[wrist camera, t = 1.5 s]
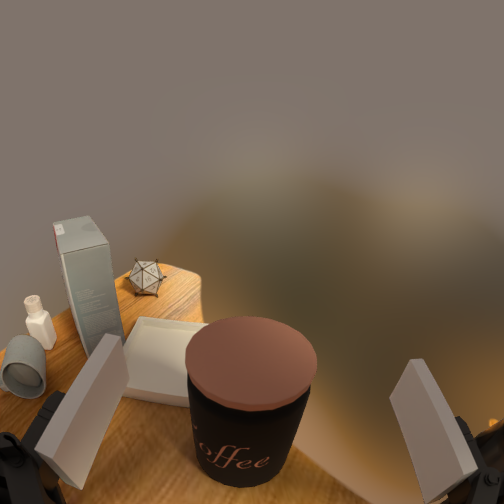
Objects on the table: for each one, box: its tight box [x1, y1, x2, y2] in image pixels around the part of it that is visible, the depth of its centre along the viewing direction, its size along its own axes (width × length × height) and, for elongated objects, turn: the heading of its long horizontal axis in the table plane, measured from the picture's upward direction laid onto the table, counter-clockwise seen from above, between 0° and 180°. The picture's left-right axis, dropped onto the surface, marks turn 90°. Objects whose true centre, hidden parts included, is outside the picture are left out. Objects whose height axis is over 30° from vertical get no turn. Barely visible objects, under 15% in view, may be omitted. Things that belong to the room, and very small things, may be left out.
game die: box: [125, 258, 167, 297], centre depth 61 cm, size 9×8×10 cm
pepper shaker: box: [24, 295, 57, 350], centre depth 40 cm, size 4×4×10 cm
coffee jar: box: [185, 316, 317, 488], centre depth 26 cm, size 11×11×18 cm
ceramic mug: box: [0, 334, 46, 399], centre depth 31 cm, size 11×8×8 cm
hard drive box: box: [53, 216, 126, 359], centre depth 44 cm, size 16×8×20 cm, turn 41°
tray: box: [122, 316, 208, 408], centre depth 43 cm, size 17×17×2 cm
